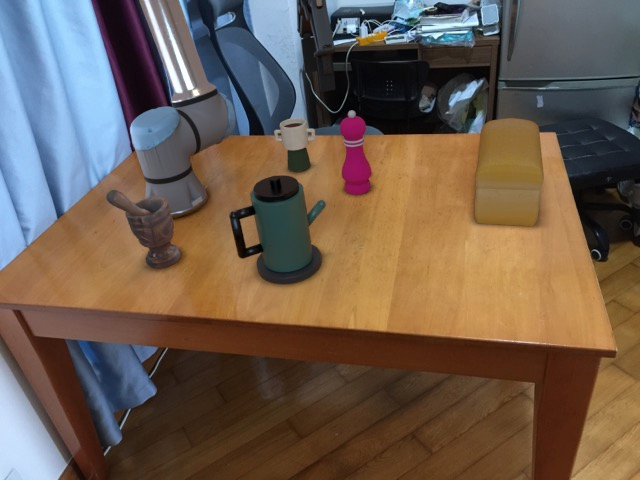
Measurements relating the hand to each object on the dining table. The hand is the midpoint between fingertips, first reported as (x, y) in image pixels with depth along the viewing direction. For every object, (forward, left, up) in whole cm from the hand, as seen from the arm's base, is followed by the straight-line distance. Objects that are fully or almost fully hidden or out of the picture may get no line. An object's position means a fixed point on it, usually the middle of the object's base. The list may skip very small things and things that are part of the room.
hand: (319, 80), depth 106 cm
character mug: (-30, -2, -32) cm, 44 cm away
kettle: (+13, -13, -30) cm, 35 cm away
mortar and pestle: (+2, -39, -32) cm, 50 cm away
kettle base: (+13, -13, -32) cm, 37 cm away
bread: (+6, +38, -32) cm, 50 cm away
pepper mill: (-12, +9, -32) cm, 35 cm away
